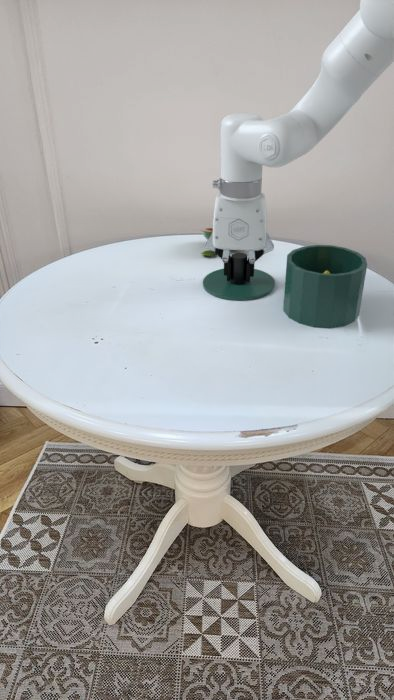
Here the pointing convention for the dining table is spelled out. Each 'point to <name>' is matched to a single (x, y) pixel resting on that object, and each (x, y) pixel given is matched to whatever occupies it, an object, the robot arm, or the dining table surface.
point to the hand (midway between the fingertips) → (238, 278)
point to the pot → (324, 285)
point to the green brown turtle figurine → (207, 234)
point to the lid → (238, 281)
